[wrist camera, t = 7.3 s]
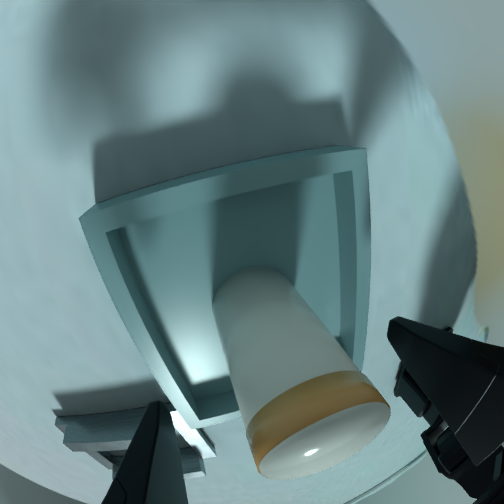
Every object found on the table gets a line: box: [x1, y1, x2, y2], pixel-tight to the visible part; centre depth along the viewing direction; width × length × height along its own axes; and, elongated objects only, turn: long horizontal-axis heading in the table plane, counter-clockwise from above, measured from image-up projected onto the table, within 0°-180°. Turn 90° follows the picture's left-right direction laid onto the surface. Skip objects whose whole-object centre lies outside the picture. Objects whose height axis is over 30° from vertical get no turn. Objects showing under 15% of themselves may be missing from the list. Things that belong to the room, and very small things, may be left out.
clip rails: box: [55, 402, 216, 479], centre depth 15 cm, size 10×8×2 cm
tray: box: [79, 145, 371, 430], centre depth 13 cm, size 11×13×2 cm
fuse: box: [212, 266, 391, 480], centre depth 10 cm, size 4×4×8 cm
